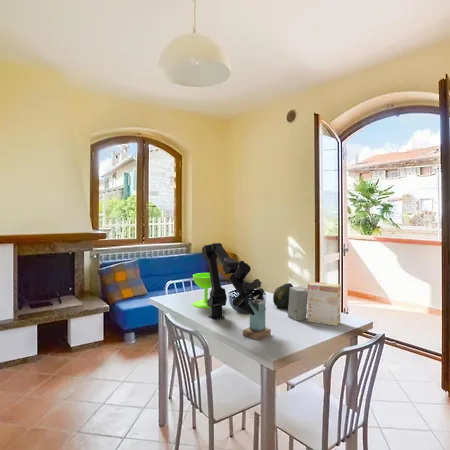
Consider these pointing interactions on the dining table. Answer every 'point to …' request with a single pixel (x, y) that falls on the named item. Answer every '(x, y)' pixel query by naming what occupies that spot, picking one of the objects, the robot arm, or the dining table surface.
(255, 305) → the tea tin
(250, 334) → the walnut block
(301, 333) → the dining table surface
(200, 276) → the wineglass
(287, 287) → the squash
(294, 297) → the skincare box
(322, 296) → the coffeecake box
